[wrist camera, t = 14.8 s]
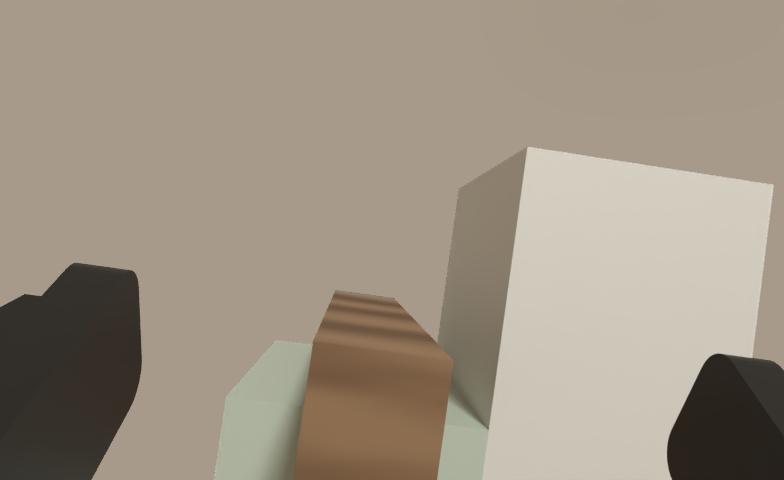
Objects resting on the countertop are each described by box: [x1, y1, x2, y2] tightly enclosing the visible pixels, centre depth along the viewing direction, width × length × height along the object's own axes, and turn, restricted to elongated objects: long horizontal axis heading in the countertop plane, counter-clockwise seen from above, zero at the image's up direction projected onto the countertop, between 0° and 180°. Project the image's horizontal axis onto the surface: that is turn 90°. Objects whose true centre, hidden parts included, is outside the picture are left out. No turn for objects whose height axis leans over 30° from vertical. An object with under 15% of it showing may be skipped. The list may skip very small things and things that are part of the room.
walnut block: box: [293, 290, 454, 480], centre depth 28 cm, size 24×4×4 cm, turn 4°
